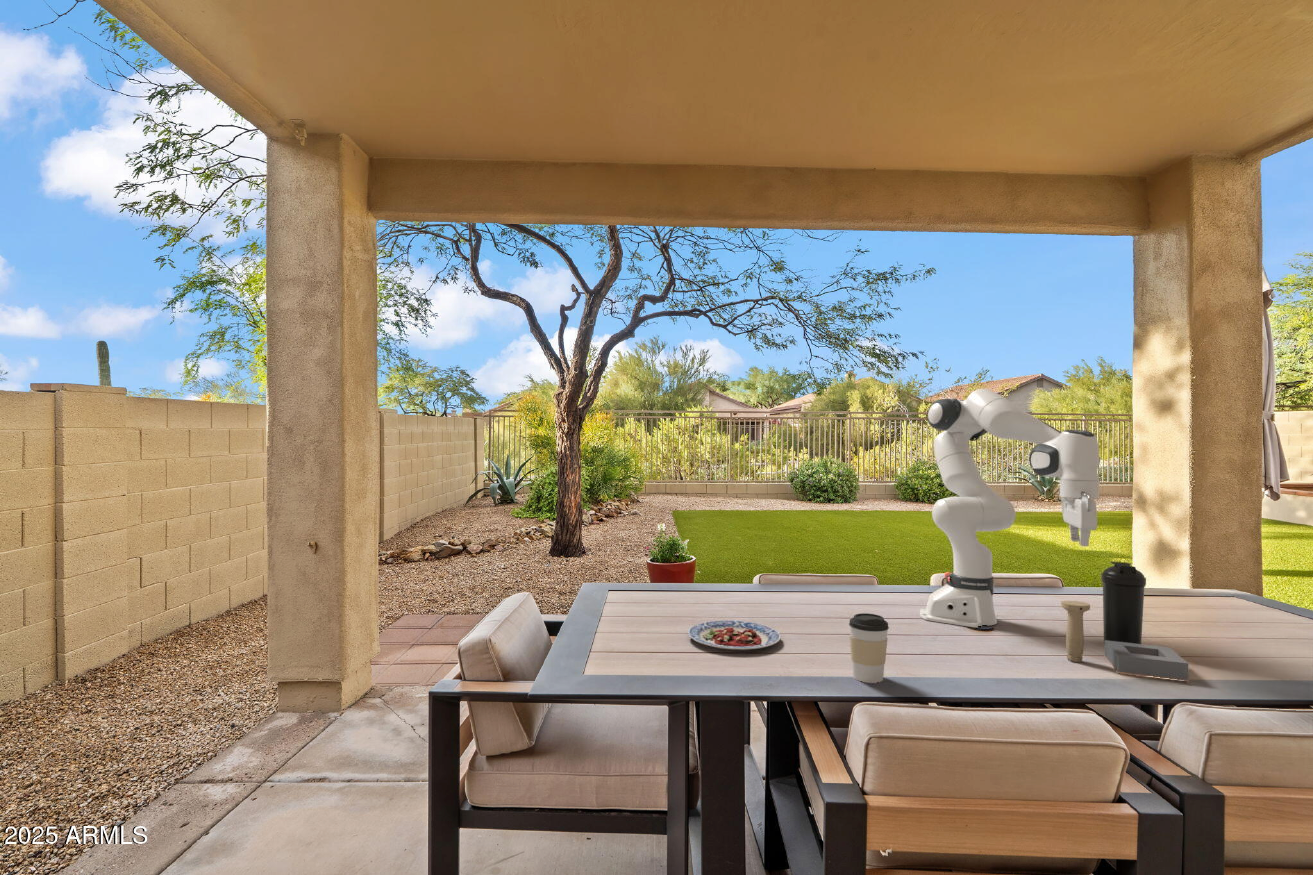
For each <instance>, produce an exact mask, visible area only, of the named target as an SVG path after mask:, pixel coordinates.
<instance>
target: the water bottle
mask: <svg viewBox="0 0 1313 875" xmlns="http://www.w3.org/2000/svg"><path fill="white" fill-rule="evenodd" d="M1110 564H1113V566H1109V567H1107V568H1105V569H1104V570H1103V572H1101V574H1100V575H1101V577H1100V578H1101V579H1100V580H1101V582H1102V609H1103V610H1102V611H1103V613H1102V615H1103V617H1102V620H1103V623H1102V624H1103V645H1104V646H1105V640H1108V641H1117V642H1126V643H1135V644H1142V638H1143V637H1142V636H1143V620H1144V619H1143V617H1144V598H1145V587H1146V585H1147V578H1146V577H1145V575H1144V574H1143V573H1142V572H1141V571H1140V570H1138V569H1137V568H1136V566H1132V565H1131V563H1130V562H1121V561H1120V562H1119V561H1118V562H1117V561H1111V562H1110Z"/></svg>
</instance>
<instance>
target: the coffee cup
mask: <svg viewBox="0 0 1313 875" xmlns="http://www.w3.org/2000/svg"><path fill="white" fill-rule="evenodd" d="M848 626H849V630H850V631H849V632H850V633H849V641H850V642H849V643H850V658H851V659H850V660H851V665H852V667H851V668H852V677H853V679H854V680H856V681H859V682H861V681H862V682H861V683H866V684H878V683H877V682H879V683H882V682H883V681H884V674H885V665H886V658H887V657H886V656H887V649H888V648H887V647H888V631H889V629H890V627H889V623H888V621H887V620H885V618H884V617H883V616H882V615H880V614H875V613H866V612H865V613H863V612H861V613H856V614H854V615H853V617H851V618H850V619H849V623H848ZM881 681H882V682H881Z"/></svg>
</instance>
